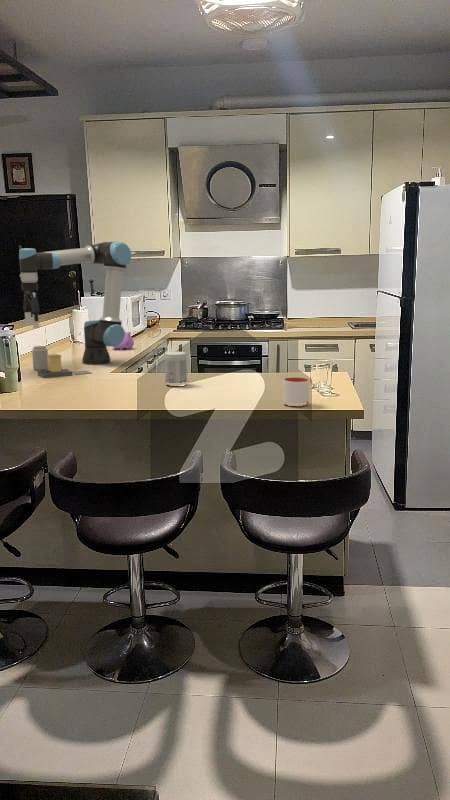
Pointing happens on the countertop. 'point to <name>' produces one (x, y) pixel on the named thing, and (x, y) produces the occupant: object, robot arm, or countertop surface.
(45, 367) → the can
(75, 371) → the rubber pad
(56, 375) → the dark grey flat slab
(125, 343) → the teapot
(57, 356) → the nut block
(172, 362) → the supplement tub
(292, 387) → the cup
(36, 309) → the robot arm
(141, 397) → the countertop surface
